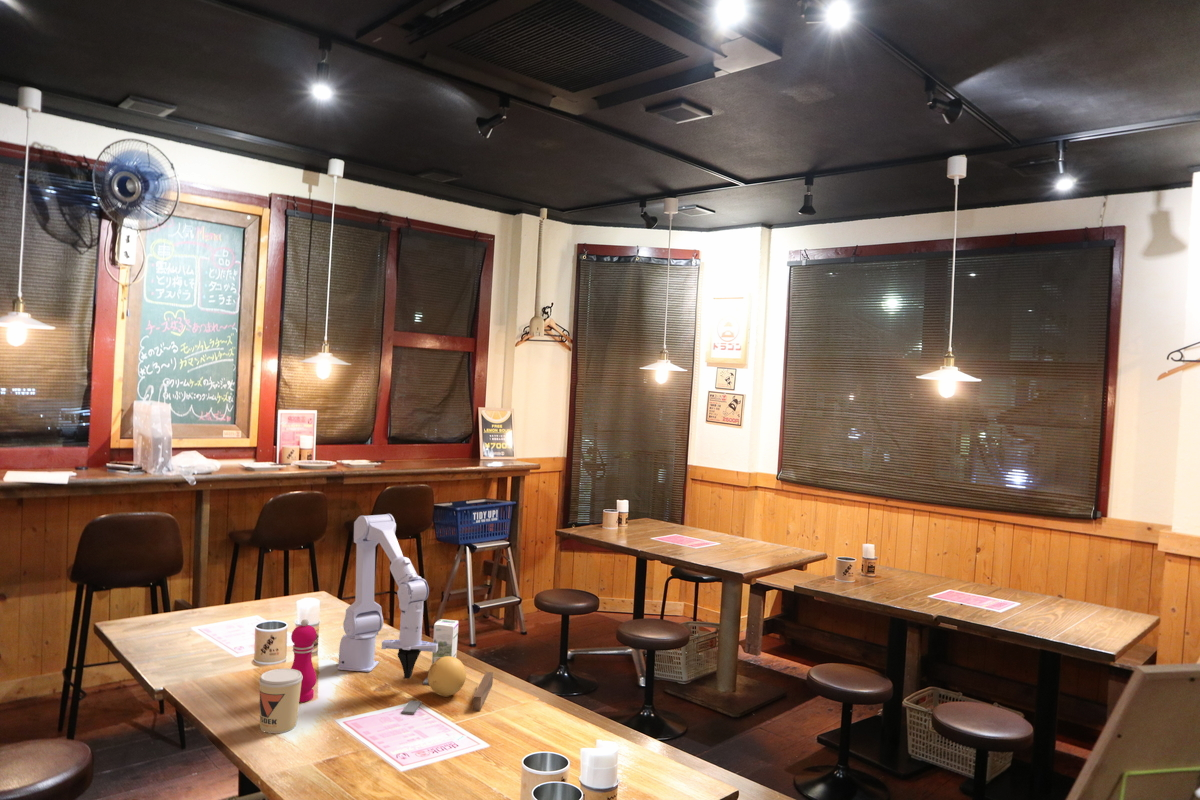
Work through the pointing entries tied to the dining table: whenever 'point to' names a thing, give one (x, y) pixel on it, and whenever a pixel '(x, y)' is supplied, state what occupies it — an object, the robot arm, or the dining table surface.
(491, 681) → the bar
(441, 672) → the stress ball
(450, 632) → the syrup box
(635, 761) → the dining table surface
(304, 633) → the pepper mill
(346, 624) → the robot arm
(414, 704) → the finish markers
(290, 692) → the coffee cup
